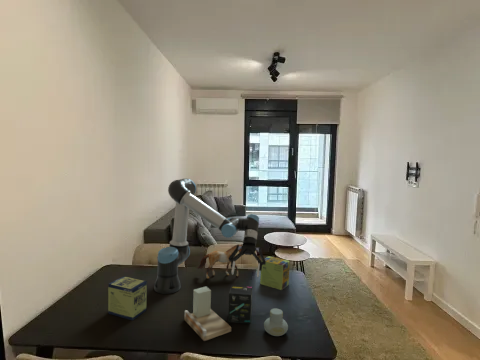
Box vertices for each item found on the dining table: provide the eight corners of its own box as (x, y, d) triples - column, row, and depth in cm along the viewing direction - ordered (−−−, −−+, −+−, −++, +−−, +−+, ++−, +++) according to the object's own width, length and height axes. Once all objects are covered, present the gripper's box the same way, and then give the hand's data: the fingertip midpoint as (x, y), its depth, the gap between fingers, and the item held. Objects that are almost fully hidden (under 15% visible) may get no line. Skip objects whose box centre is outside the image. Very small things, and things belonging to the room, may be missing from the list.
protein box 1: (133, 320, 144) (133, 289, 142) (107, 313, 149) (107, 283, 148) (147, 310, 153) (147, 280, 152) (122, 304, 159) (122, 275, 158)
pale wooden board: (184, 319, 146) (184, 310, 146) (209, 311, 154) (210, 303, 154) (203, 341, 130) (203, 331, 129) (231, 331, 138) (231, 321, 137)
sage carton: (193, 313, 148) (193, 289, 147) (205, 309, 152) (206, 286, 151) (197, 317, 144) (198, 293, 143) (210, 313, 148) (211, 290, 147)
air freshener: (285, 327, 142) (286, 306, 142) (289, 337, 134) (290, 316, 133) (262, 327, 142) (263, 306, 141) (264, 337, 134) (265, 316, 133)
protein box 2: (282, 290, 181) (283, 265, 180) (259, 284, 189) (260, 260, 188) (289, 284, 190) (290, 260, 189) (267, 278, 198) (268, 255, 197)
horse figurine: (242, 272, 207) (243, 243, 205) (244, 277, 199) (245, 246, 198) (196, 275, 200) (197, 244, 198) (197, 280, 193) (198, 248, 191)
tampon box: (251, 314, 153) (252, 286, 152) (250, 324, 144) (251, 294, 143) (230, 312, 154) (231, 284, 153) (227, 322, 145) (228, 292, 144)
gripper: (227, 234, 171) (220, 269, 158) (271, 237, 167) (268, 274, 153) (229, 240, 177) (222, 275, 163) (272, 244, 172) (268, 280, 159)
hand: (245, 274), depth 158 cm, fingers open, 13 cm apart
